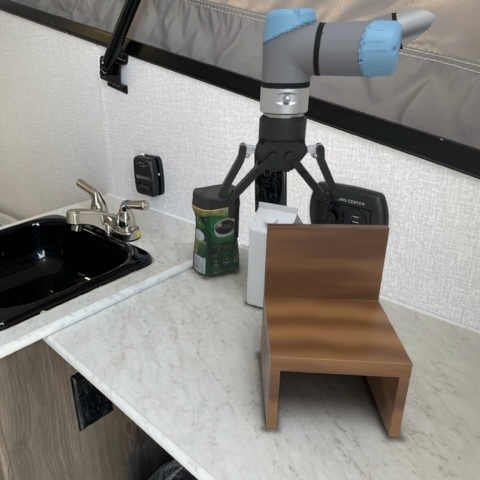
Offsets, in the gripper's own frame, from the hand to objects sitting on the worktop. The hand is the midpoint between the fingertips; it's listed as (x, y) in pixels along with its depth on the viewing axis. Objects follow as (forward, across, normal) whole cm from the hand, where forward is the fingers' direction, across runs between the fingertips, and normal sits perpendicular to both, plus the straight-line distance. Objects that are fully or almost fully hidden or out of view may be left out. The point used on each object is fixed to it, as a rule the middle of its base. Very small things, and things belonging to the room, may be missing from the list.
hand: (274, 236), depth 88 cm
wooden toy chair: (+13, +5, -25) cm, 29 cm away
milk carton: (+13, 0, 0) cm, 13 cm away
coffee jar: (+13, -11, +13) cm, 21 cm away
